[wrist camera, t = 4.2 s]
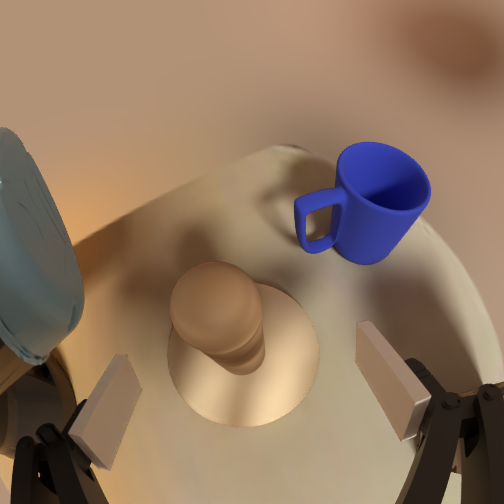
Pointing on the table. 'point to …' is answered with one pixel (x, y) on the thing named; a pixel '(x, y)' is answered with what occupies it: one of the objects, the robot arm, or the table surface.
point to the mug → (367, 203)
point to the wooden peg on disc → (239, 346)
